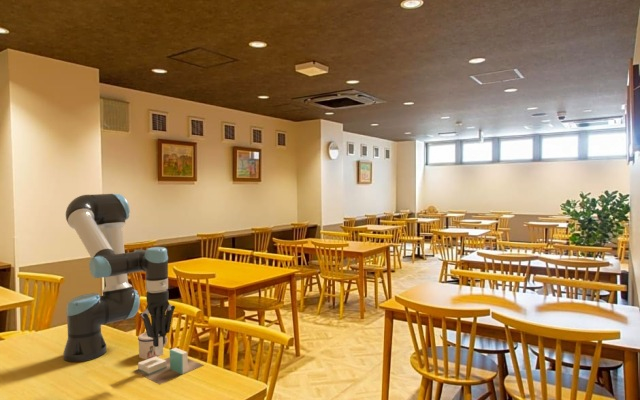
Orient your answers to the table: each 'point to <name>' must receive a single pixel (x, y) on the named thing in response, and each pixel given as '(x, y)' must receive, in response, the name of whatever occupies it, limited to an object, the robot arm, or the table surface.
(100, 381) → the table surface
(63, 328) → the table surface
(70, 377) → the table surface
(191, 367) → the walnut board
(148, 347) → the teacup with lid
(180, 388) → the table surface
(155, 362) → the tile
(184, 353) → the tile
